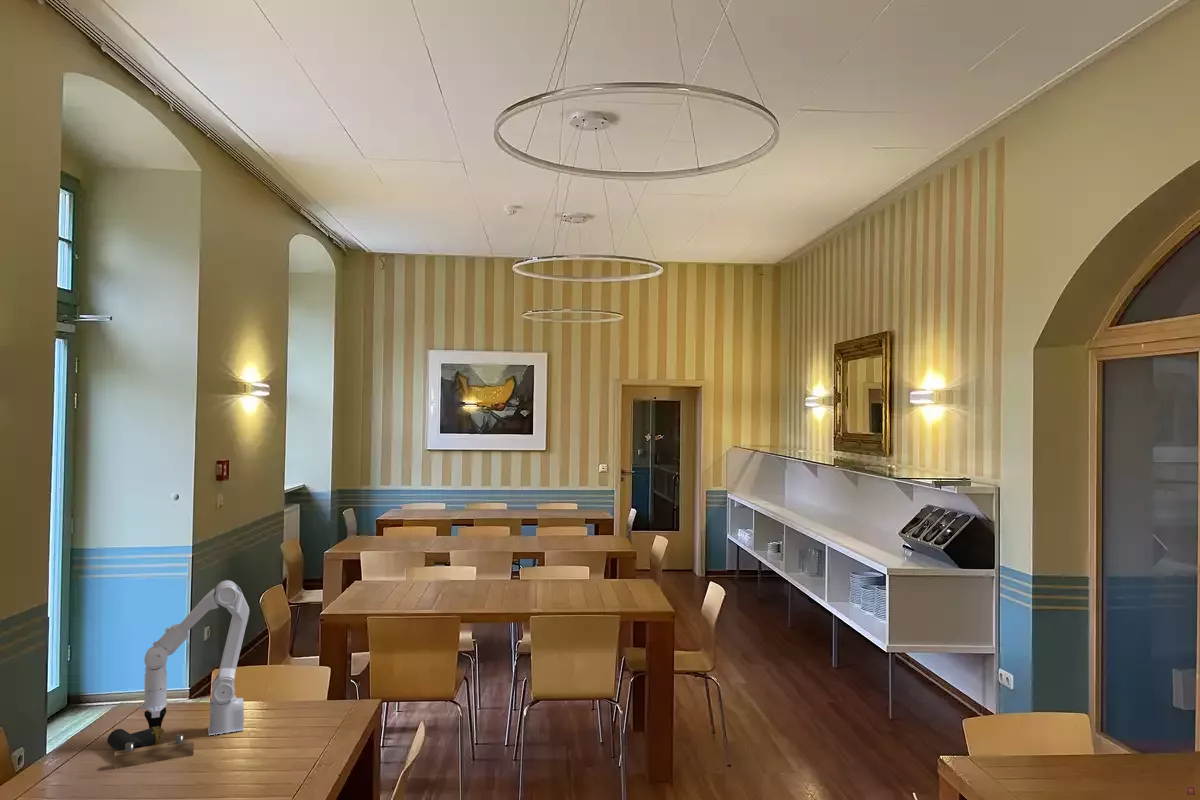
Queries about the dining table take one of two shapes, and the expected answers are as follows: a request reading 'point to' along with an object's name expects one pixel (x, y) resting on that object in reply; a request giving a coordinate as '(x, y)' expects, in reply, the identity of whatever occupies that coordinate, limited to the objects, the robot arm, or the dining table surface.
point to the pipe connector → (135, 738)
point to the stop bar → (153, 752)
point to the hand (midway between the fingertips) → (155, 735)
